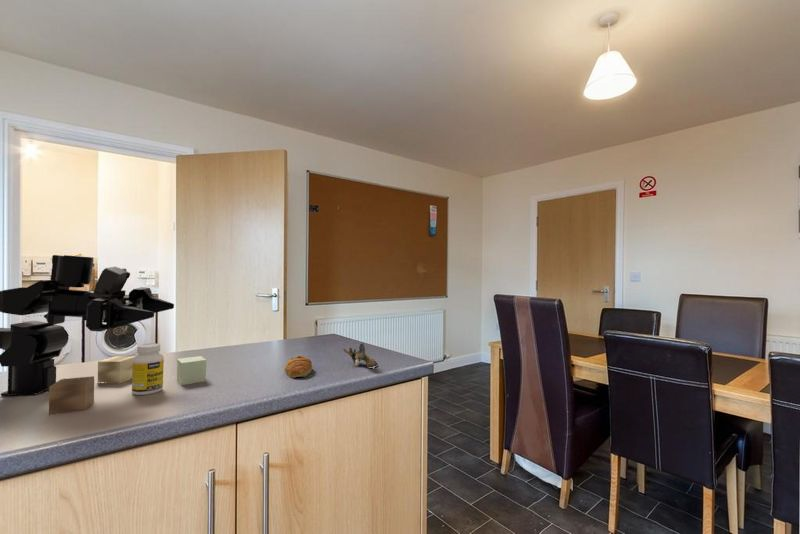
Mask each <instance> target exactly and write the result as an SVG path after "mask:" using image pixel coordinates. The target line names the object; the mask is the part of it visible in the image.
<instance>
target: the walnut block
mask: <svg viewBox="0 0 800 534" xmlns="http://www.w3.org/2000/svg"><path fill="white" fill-rule="evenodd" d="M94 402H95V376H94V375H92V376H82V377H81V376H80V377H71V378H62V379H59V380H57V381H56V383H54V384H53V385H51V386H50V387H49V389H48V415H49V416H51V415H59V414H60V415H61V414H66V413H74V412H82V411H83V412H85V411H86V410H87V409H88V408H89V407H90V406H91V405H92V404H93V403H94ZM84 410H85V411H84Z"/></svg>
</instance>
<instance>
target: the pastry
mask: <svg viewBox="0 0 800 534" xmlns="http://www.w3.org/2000/svg"><path fill="white" fill-rule="evenodd" d="M312 370H313V365H312V361H311V359H309V358H307V357H306V356H303V355H297V356H294V357H291V358H290V359H289V360H288V361H287V362H286V364H285V366H284V371H285V374H286V375H287V376H288V377H289V378H293V379H294V378H297V377H303V378H304V377H307V376H308V375H310V374H311V373H312Z"/></svg>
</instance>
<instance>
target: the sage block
mask: <svg viewBox="0 0 800 534" xmlns="http://www.w3.org/2000/svg"><path fill="white" fill-rule="evenodd" d="M176 360H177V363H176V365H177V368H176V381H177V382H178V383H179V385H180V386H184V385H185V386H186V385H191V384H195V383H196V384H197V383H203V382H206V381H207V378H206V377H207V359H206V358H205V357H204V356H202V355H199V356H191V357H182V358H177V359H176Z"/></svg>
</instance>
